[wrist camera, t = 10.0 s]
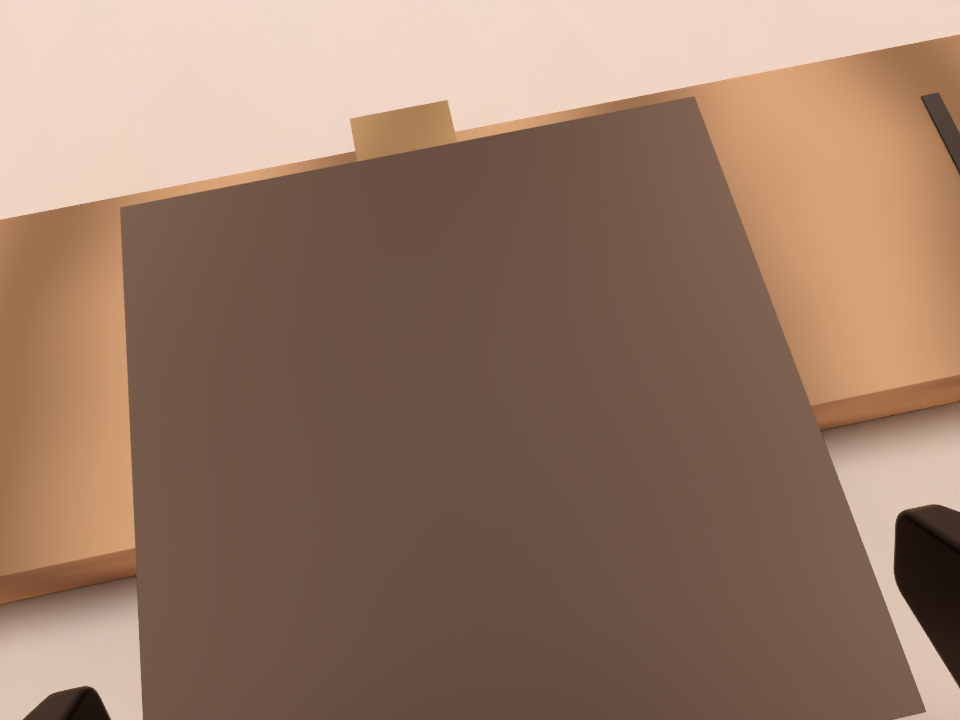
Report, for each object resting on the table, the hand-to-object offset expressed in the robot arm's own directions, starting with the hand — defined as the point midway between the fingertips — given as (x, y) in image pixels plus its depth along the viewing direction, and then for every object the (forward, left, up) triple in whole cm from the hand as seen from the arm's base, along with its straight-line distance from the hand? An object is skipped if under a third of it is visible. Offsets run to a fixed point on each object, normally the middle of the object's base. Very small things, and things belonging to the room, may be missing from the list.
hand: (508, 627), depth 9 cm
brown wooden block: (+4, -2, -8) cm, 9 cm away
